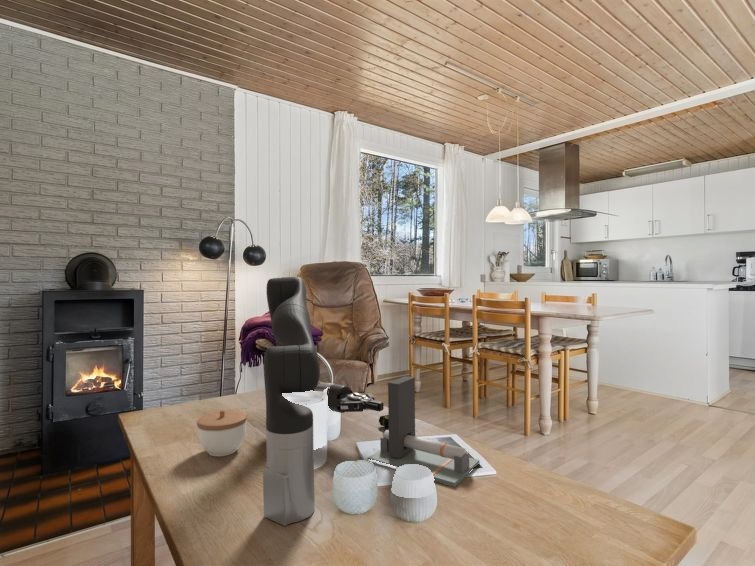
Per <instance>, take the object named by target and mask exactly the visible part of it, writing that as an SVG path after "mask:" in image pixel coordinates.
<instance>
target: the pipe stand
mask: <svg viewBox="0 0 755 566" xmlns="http://www.w3.org/2000/svg"><path fill="white" fill-rule="evenodd" d="M379 441H380V444H379V445H380V449H379V450H378V451H376V452H374V453H373V454H371V455H369V456H367V460H368V459H370V460H371V459H372V460H376V461H379V462H382V463H386V464H390V465H393V466H397V467H399V466H402V465H404V464H419V465H423V466H426V467H428V468H429V469H430V470H431V472H432V473H433V476H434V479H435V481H434V482H436V483H439V484H443V485H444V486H445V485H446V486H450V487H452V488H456V487H457V486H458V485H459V484H460V483H461V482H462V481H464V479H466V478H467V476H469V475H470V474H469V472H470V471H471V470H472V469H473V468H474V467H475V466H477V465H478V463H479V464H480V459H476V458H472V457H470V452H469V451H467V449H466V448H465V447H460V446H456V445H452V444H448V443H447V442H439V441H435V440H431V439H426V438H421V437H419V436H416V435H415V436H411V435H405V436H404V447H407V448H411V449H413V450H411V451H410V452H408V453H407V454H405V455H404V456H402V457H401V458H395V457H391V456H389V429H385V431H384V432H383V435H382V436H381V437H380V440H379ZM478 466H479V465H478ZM478 466H477V467H478ZM468 474H469V475H468Z"/></svg>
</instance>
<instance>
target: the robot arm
mask: <svg viewBox="0 0 755 566" xmlns="http://www.w3.org/2000/svg"><path fill="white" fill-rule="evenodd" d="M266 299H267V306H268V310H269V317H270V321H271V333H272V335H273V338H274V339H275V344H276V346H270V347H268V348H266V350H265V353H264V356H263V379H264V391H265V412H266V413H265V415H266V416H265V418H266V419H265V428H266V431H265V433H266V439H265V440H266V467H264V468H263V469H262V487H263V488H262V492H263V494H262V495H263V499H262V500H263V517H264V518H266V519H269V520H271V521H272V522H275V523H278V524H279V525H281V526H283V527H284V526H285V527H286V526H288V525H291V524H293V523H299V522H302V521H304V520H306V519H308V518H309V517H310V516H312V515H313V514H314V512H315V501H316V500H315V462H314V461H315V457H314V456H315V454H314V452H315V451H314V448H315V447H314V446H315V445H314V414H313V411H312V409H311V408H309V407H308V406H306V405H299V404H295V403H292V402H290V401H288V400H287V399H285V398H284V397H283V396H282V393H292V392H305V391H310V390H313V391H323V390H324V389H326V388H327V387H330V389H329V394H328V406H329V408H330V409H331V410H332V412H336V413H339V414H340V413H341V414H342V413H343V414H344V413H357V412H361V413H362V412H364V411H369V410H370V411H375V412H381V411H383V410H384V409H385V408H384V402H383V401H380V400H375V396H374V395H373V394H372V393H371V392H369V391H367V392H365V394H361V393H359V392H355V391H354V392H353V390H352V389H351V387H349V386H347V385H343V384H338V383H332V382H322V381H320V377H321V366H320V360H319V359H320V358H319V354H318V352H317V348H316V346H315V342H314V340H313V334H312V333H313V332H312V323H311V317H310V314H309V313H310V312H309V309H308V305H307V301H308V300H307V287H306V284H305V281H304V280H303V278H301V277H299V276H284V277H273V278H269V279H267V283H266ZM331 410H330V411H331Z"/></svg>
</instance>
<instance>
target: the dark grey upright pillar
mask: <svg viewBox="0 0 755 566" xmlns="http://www.w3.org/2000/svg"><path fill="white" fill-rule="evenodd" d="M415 378H416V377H412V376H402V377H399V378H397V379H394V380H391V381H388V382H387V398H388V400H387V402H388V403H387V404H388V414H387V415H388V417H389V429H388V430H389V456H391V457H395V458H401V457H402V456H404V455H405V454H407V453H408V452H410V451H411V450H413V449H411V448H407V447H404V436H405V435H411V436H415V437H416V405H415V404H416V400H415V399H416V398H415V397H416V396H415V395H416V393H415V392H416V391H415V389H416V386H415Z"/></svg>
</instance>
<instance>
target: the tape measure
mask: <svg viewBox="0 0 755 566" xmlns="http://www.w3.org/2000/svg"><path fill="white" fill-rule="evenodd" d="M378 422H379V425H380V426H381V427H383V428H384V429H385V430H389V417H388V414H386V415H381V416H379V418H378Z"/></svg>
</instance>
